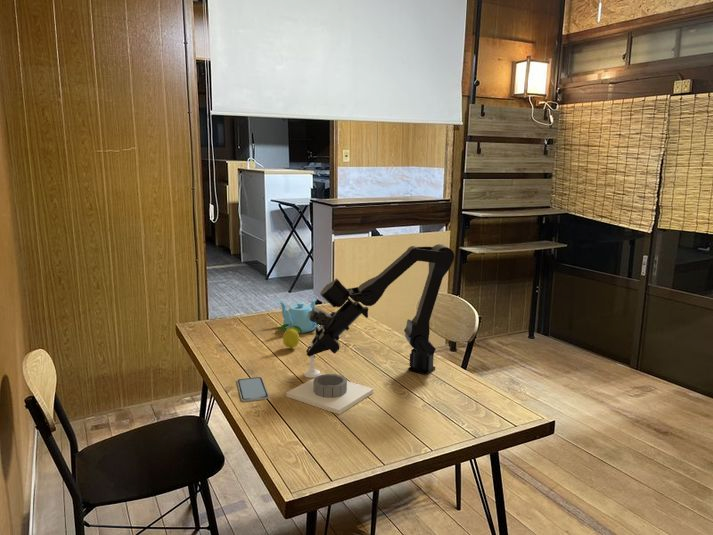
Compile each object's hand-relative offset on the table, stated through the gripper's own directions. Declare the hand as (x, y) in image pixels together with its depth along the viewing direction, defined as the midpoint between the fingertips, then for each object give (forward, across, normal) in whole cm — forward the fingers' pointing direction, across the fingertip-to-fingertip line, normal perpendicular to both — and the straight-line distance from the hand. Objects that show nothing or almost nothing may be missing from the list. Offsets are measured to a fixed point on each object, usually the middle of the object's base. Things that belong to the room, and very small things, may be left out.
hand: (307, 354), depth 159 cm
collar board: (+1, +15, +9) cm, 17 cm away
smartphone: (+16, +8, -6) cm, 19 cm away
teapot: (+6, -46, +4) cm, 46 cm away
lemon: (+8, -23, +2) cm, 24 cm away
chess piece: (+4, 0, +6) cm, 7 cm away
